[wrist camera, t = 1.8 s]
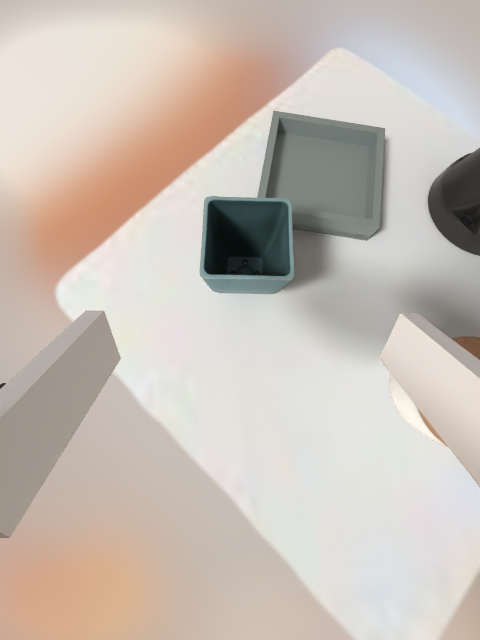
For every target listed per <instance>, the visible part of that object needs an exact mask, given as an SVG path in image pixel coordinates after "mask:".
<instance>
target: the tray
mask: <svg viewBox="0 0 480 640" xmlns="http://www.w3.org/2000/svg"><path fill="white" fill-rule="evenodd" d="M384 138H385V128H379V127H373V126H367V125H360V124H354V123H348V122H341V121H335V120H329V119H322V118H316V117H310V116H304V115H297V114H291V113H285V112H278V111H273V116H272V122H271V127H270V133H269V138H268V144H267V149H266V154H265V160H264V165H263V171H262V176H261V181H260V187H259V192H258V198H287V199H290V200H291V202H292V225H293V226H292V227H293V228H295V229H301V230H307V231H313V232H319V233H325V234H331V235H337V236H343V237H349V238H355V239H361V240H368V239H369V238H370V237H371V236H372V235H373V234H374V233H375V232H376V231H377V230H378V229H379V228H380V216H381V197H382V177H383V158H384Z"/></svg>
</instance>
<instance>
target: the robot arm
mask: <svg viewBox="0 0 480 640" xmlns="http://www.w3.org/2000/svg"><path fill="white" fill-rule="evenodd" d="M428 205H429V211H430V214H431V217H432V219H433V221H434V223H435V225H436V226H437V228H438V229H439V231H440V232H441V233H442V234H443V235H444V236H445V237H446V238H447V239H448V240H449V241H450V242H452V243H453V244H454V245H456V246H458V247H459V248H461V249H463V250H465V251H467V252H470V253H472V254H476V255H480V148H479V149H477V150H476V151H475V152H473V153H470V154H467V155H465V156H463V157H461V158H460V159H458V160H456V161H455V162H454V163H452V164H451V165H450V166H449V167H448V168H447V169H446V170H445V171H444V172H442V173H441V174H440V175H439V176H438V177H437V178H436V179H435V181H434V182H433V184H432V186H431V188H430V191H429V196H428ZM120 359H121V358H120V355H119V352H118V349H117V347H116V344H115V341H114V338H113V335H112V332H111V329H110V327H109V324H108V321H107V318H106V315H105V312H104V311H85V312H84V313H83V314H82V315H81V316H80V317H79V318H77V319H76V320H75V321H74V322H73V323H72V324H71V325H70V326H69V327H68V328H67V329H65V330H64V331H63V332H62V333H61V334H60V335H59V336H58V337H57V338H56V339H55V340H53V341H52V342H51V343H50V344H49V345H48V346H47V347H46V348H45V349H44V350H42V351H41V352H40V353H39V354H38V355H37V356H36V357H35V358H34V359H33V360H31V361H30V362H29V363H28V364H27V365H26V366H25V367H24V368H23V369H22V370H21V371H19V372H18V373H17V374H16V375H15V376H14V377H13V378H12V379H11V380H10V381H9V382H8V383H3V384H1V385H0V538H10V536H11V535H12V533H13V531H14V530H15V528H16V527H17V525H18V523H19V522H20V520H21V519H22V517H23V515H24V514H25V512H26V511H27V509H28V507H29V506H30V504H31V502H32V501H33V499H34V498H35V496H36V494H37V493H38V491H39V489H40V488H41V486H42V485H43V483H44V481H45V480H46V478H47V477H48V475H49V473H50V472H51V470H52V469H53V467H54V465H55V464H56V462H57V460H58V459H59V457H60V456H61V454H62V452H63V451H64V449H65V448H66V446H67V444H68V443H69V441H70V440H71V438H72V436H73V435H74V433H75V431H76V430H77V428H78V427H79V425H80V423H81V422H82V420H83V419H84V417H85V415H86V413H87V412H88V410H89V409H90V407H91V406H92V404H93V402H94V401H95V399H96V398H97V396H98V394H99V393H100V391H101V389H102V388H103V386H104V385H105V383H106V381H107V380H108V378H109V376H110V375H111V373H112V372H113V370H114V369H115V367H116V365H117V364H118V362H119V361H120ZM379 359H380V361H381V362H382V363H383V365H384V366H385V367H386V368H387V370H388V371H389V372H390V373H391V375H392V376H393V377H394V379H395V380H396V381H397V382H398V384H399V385H400V386H401V387H402V389H403V390H404V391H405V393H406V394H407V395H408V396H409V398H410V399H411V400H412V401H413V403H414V404H415V405H416V406H417V408H418V409H419V410H420V412H421V413H422V414H423V415H424V417H425V418H426V419H427V420H428V422H429V423H430V424H431V426H432V427H433V428H434V429H435V431H436V432H437V433H438V434H439V436H440V437H441V438H442V440H443V441H444V442H445V443H446V445H447V446H448V447H449V448H450V450H451V451H452V452H453V454H454V455H455V456H456V457H457V459H458V460H459V461H460V462H461V464H462V465H463V466H464V467H465V469H466V470H467V471H468V473H469V474H470V475H471V476H472V478H473V479H474V480H475V481H476V483H477V484H478V485H479V487H480V360H479V359H477V358H476V357H475V356H473V355H472V354H471V353H469V352H468V351H467V350H465V349H464V348H463V347H461V346H460V345H459V344H458V343H456V342H455V341H454V340H452V339H451V338H450V337H448V336H447V335H446V334H444V333H443V332H442V331H440V330H439V329H438V328H436V327H435V326H434V325H432V324H431V323H430V322H428V321H427V320H426V319H424V318H423V317H422V316H420V315H419V314H418V313H400V315H399V317H398V319H397V321H396V323H395V326H394V328H393V330H392V332H391V334H390V336H389V339H388V341H387V343H386V345H385V347H384V349H383V351H382V354H381V356H380V358H379Z"/></svg>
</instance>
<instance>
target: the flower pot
mask: <svg viewBox="0 0 480 640" xmlns="http://www.w3.org/2000/svg"><path fill="white" fill-rule="evenodd" d="M292 226H293V225H292V202H291V200H290V199H287V198H238V197H217V196H212V197H207V198H205V200H204V215H203V232H202V248H201V261H200V276H201V277H202V278H203V279H204V281H205V282H206V283H207V285H208V286H209V287H210V288H211V289H212V290H213V291H215V292H218V293H250V294H274V293H277V292H279V291H280V290H281V289H282V288H284V287H285V286H286V285H287V284H288V283H289V282H290V281H291V280H292V279H293V278H294V275H295V269H294V254H293V253H294V252H293V227H292ZM244 261H246V262H247V264H244V263H243V262H244ZM232 272H235V275H231V273H232ZM256 272H258V273H259V275H255V273H256Z"/></svg>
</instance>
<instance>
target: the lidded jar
mask: <svg viewBox="0 0 480 640" xmlns="http://www.w3.org/2000/svg"><path fill="white" fill-rule="evenodd" d="M451 339H452V340H454V341H455V342H456V343H458V344H459V345H460V346H461V347H463V348H464V349H465V350H467V351H468V352H469V353H471V354H472V355H473V356H475V357H476V358H477V359H479V360H480V338H476V337H457V338H451ZM389 393H390V396H391V400H392V402H393V404H394V406H395V408H396V410H397V411H398V413H399V414H400V415H401V417H402V418H403V419H404V420H405V421H406V422H407V423H408V424H409V425H410V426H411V427H412V428H414V429H415V430H416V431H418V432H419V433H421V434H422V435H424V436H425V437H427V438H429V439H431V440H432V441H434V442H436V443H439V444H441V445H443V446H445V447H448V446H447V445H446V443H445V442H444V441H443V440H442V438H441V437H440V436H439V434H438V433H437V432H436V431H435V429H434V428H433V427H432V426H431V424H430V423H429V422H428V420H427V419H426V418H425V417H424V415H423V414H422V413H421V412H420V410H419V409H418V408H417V406H416V405H415V404H414V403H413V401H412V400H411V399H410V398H409V396H408V395H407V394H406V393H405V391H404V390H403V389H402V387H401V386H400V385H399V384H398V382H397V381H396V380H395V379H394V377H393V376H392V375H391V373H390V377H389ZM448 448H449V447H448Z"/></svg>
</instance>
